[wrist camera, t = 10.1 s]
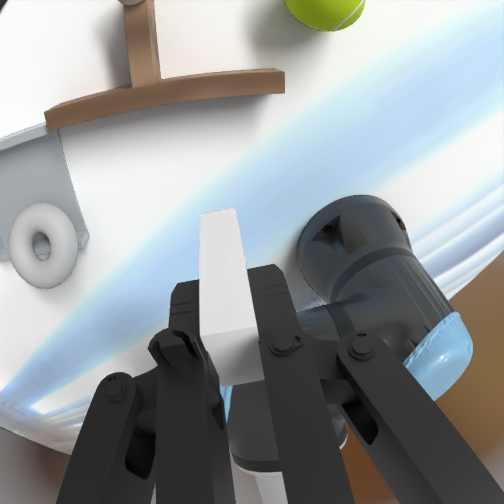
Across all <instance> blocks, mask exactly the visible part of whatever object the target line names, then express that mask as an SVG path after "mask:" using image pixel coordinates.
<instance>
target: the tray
mask: <svg viewBox="0 0 504 504" xmlns="http://www.w3.org/2000/svg"><path fill="white" fill-rule="evenodd" d="M34 203H48V204H51V205H54V206H57V207H58V208H59V209H60V210H62V211H63V212H64V213H65V214H66V215H67V216H68V218H69V219H70V221H71V222H72V224H73V226H74V229H75V232H76V235H77V240H78V249H82V248H84V247H85V245H86V243H87V241H88V238H89V233H88V230H87V228H86V225H85V222H84V219H83V216H82V213H81V210H80V207H79V204H78V201H77V198H76V195H75V191H74V188H73V185H72V182H71V178H70V175H69V171H68V168H67V164H66V160H65V157H64V153H63V149H62V145H61V141H60V137H59V133H58V129H55V130H52V131H48V128H47V124H46V122H44V123H41V124H38V125H35V126H32V127H29V128H27V129H24V130H21V131H18V132H16V133H13V134H10V135H8V136H5V137H3V138H0V261H4V260H10V259H11V257H10V254H9V244H8V241H9V234H10V229H11V227H12V224H13V222H14V220H15V218H16V217H17V216H18V215H19V213H20V212H21V211H22V210H23V209H25V208H26V207H28V206H30V205H32V204H34ZM33 248H34V252H35V254H36V255H42V254H48V253H51V244H50V241H49V238H48V237H47V235H46V234H44V233H43V232H38V233H37V234H36V235H35V236H34V239H33Z"/></svg>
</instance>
